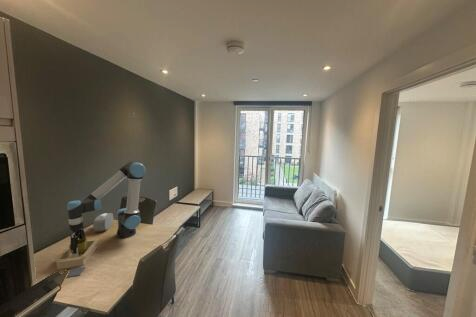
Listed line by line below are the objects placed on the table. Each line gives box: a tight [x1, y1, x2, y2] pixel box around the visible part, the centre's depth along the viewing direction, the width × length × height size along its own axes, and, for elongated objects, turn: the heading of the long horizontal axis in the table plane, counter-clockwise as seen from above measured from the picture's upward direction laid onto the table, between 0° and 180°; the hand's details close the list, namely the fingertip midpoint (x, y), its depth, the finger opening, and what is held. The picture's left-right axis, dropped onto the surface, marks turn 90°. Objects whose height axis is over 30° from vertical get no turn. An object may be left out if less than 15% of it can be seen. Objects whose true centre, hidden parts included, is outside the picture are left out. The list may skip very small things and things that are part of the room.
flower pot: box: [68, 237, 88, 256], centre depth 143 cm, size 9×9×9 cm
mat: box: [65, 266, 86, 279], centre depth 127 cm, size 9×8×1 cm
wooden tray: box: [52, 238, 100, 270], centre depth 143 cm, size 19×28×6 cm
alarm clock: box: [92, 212, 114, 232], centre depth 189 cm, size 21×10×13 cm, turn 14°
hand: (79, 253), depth 143 cm, fingers closed on flower pot, 9 cm apart
